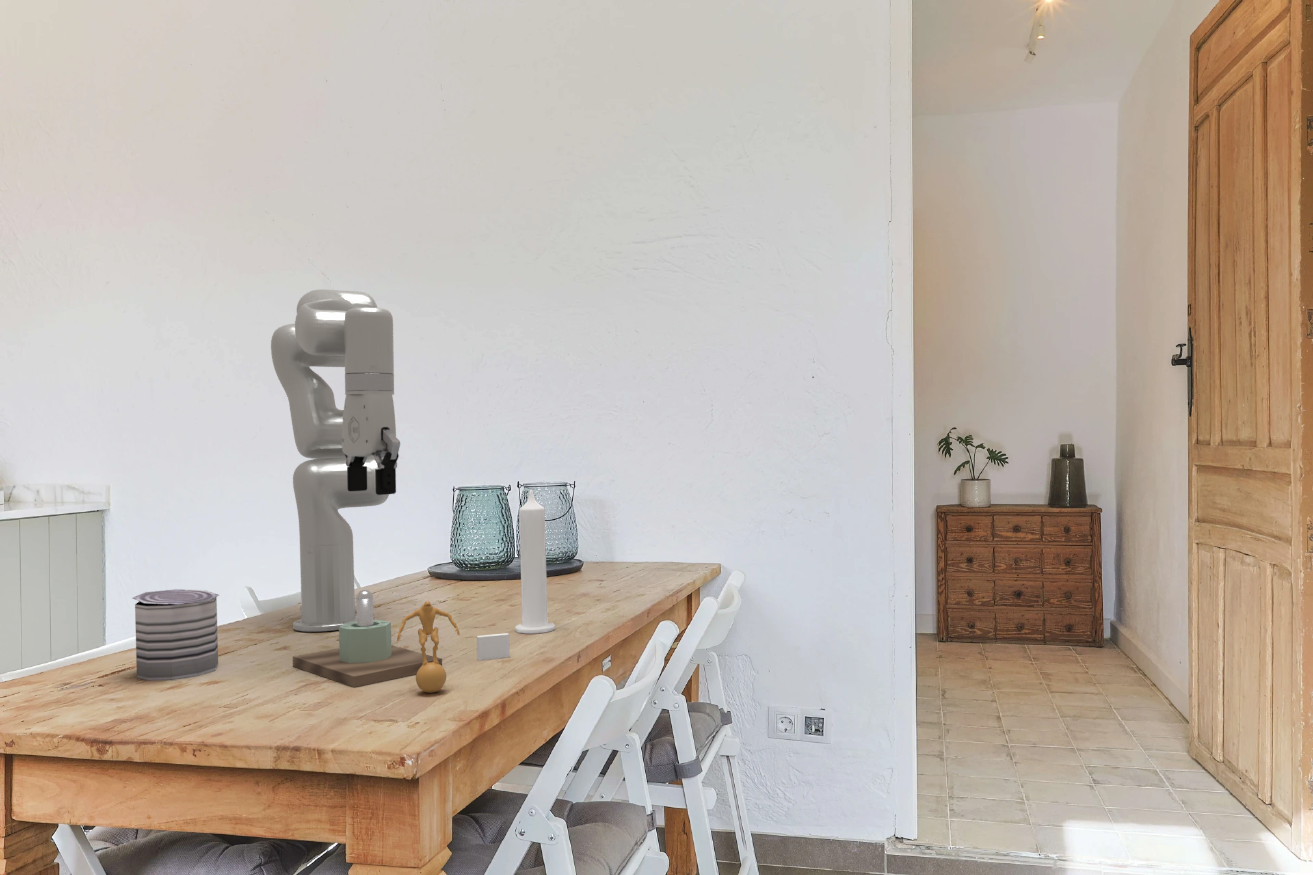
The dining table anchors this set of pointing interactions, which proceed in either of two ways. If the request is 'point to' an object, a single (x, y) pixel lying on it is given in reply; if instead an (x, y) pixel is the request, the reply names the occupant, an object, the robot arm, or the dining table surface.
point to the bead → (365, 642)
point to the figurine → (431, 673)
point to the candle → (533, 569)
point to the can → (176, 634)
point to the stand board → (362, 666)
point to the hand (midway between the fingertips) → (371, 492)
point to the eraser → (493, 646)
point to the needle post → (364, 609)
